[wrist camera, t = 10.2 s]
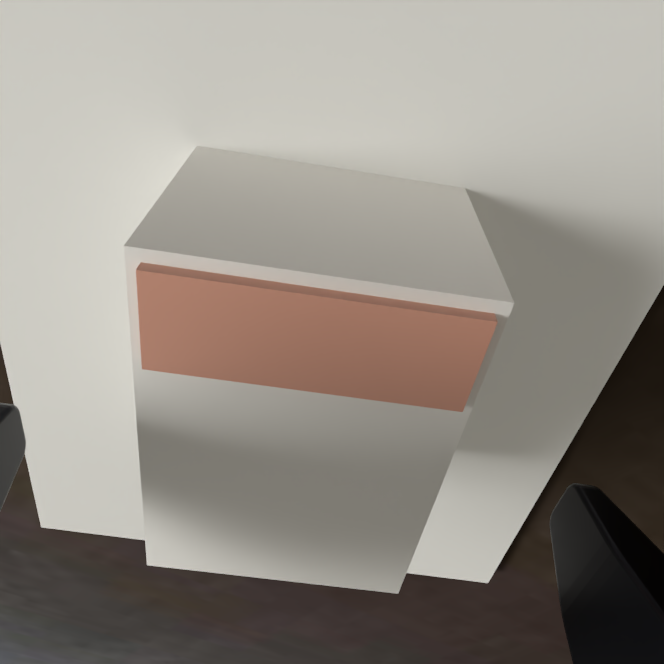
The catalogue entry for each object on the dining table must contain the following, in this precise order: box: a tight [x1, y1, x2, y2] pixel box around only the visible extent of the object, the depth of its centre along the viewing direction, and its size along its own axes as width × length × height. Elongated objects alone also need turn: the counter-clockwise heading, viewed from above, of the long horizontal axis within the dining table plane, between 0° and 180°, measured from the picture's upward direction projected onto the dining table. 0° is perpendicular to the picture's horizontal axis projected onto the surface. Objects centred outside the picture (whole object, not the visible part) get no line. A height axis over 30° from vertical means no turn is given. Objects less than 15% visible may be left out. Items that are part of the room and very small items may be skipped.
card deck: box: [124, 146, 514, 594], centre depth 11 cm, size 5×7×4 cm
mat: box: [0, 0, 664, 583], centre depth 13 cm, size 18×14×1 cm
